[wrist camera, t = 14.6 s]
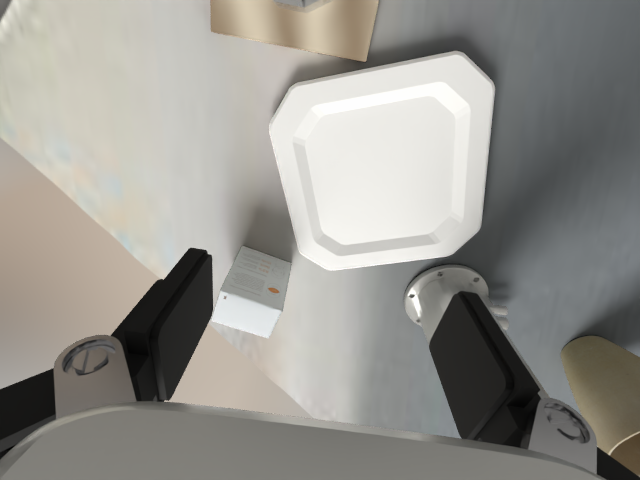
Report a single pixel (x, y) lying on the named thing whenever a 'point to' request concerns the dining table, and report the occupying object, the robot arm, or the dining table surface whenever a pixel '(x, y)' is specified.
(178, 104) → the dining table surface
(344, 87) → the plate
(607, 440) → the plant pot
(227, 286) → the small box
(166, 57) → the dining table surface
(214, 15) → the fitting board
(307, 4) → the steel ring collar
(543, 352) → the dining table surface
